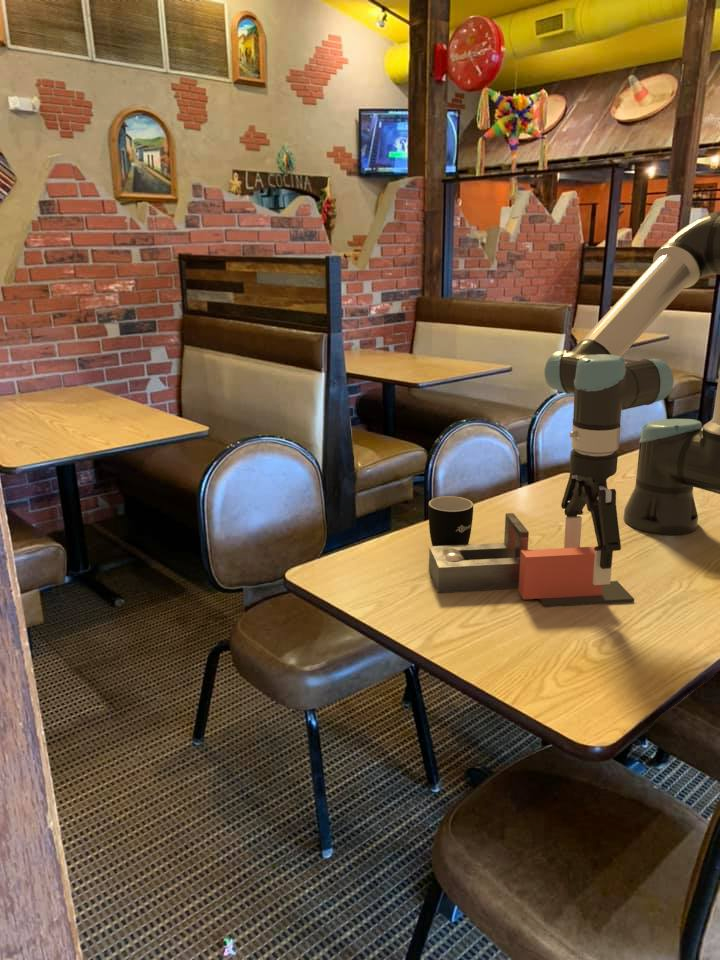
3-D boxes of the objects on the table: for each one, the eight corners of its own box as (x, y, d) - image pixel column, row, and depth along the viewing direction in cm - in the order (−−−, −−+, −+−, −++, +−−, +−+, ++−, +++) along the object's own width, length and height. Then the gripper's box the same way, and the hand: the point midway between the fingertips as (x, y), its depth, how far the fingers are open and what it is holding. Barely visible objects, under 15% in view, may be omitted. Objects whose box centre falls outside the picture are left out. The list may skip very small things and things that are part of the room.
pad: (616, 583, 132) (617, 580, 132) (633, 601, 125) (634, 598, 125) (531, 588, 130) (531, 585, 130) (543, 606, 124) (544, 603, 124)
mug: (456, 562, 142) (457, 514, 138) (419, 551, 147) (419, 504, 144) (487, 543, 150) (489, 498, 147) (451, 533, 156) (452, 489, 153)
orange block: (594, 587, 129) (598, 546, 127) (601, 595, 126) (605, 553, 124) (518, 591, 128) (520, 550, 126) (523, 599, 125) (525, 557, 123)
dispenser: (510, 566, 140) (513, 513, 136) (525, 588, 131) (528, 532, 127) (428, 570, 138) (429, 516, 135) (438, 592, 129) (439, 536, 126)
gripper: (547, 431, 131) (541, 539, 138) (602, 474, 107) (592, 601, 114) (587, 429, 132) (580, 536, 138) (651, 471, 108) (638, 598, 115)
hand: (585, 566), depth 126 cm, fingers open, 13 cm apart
